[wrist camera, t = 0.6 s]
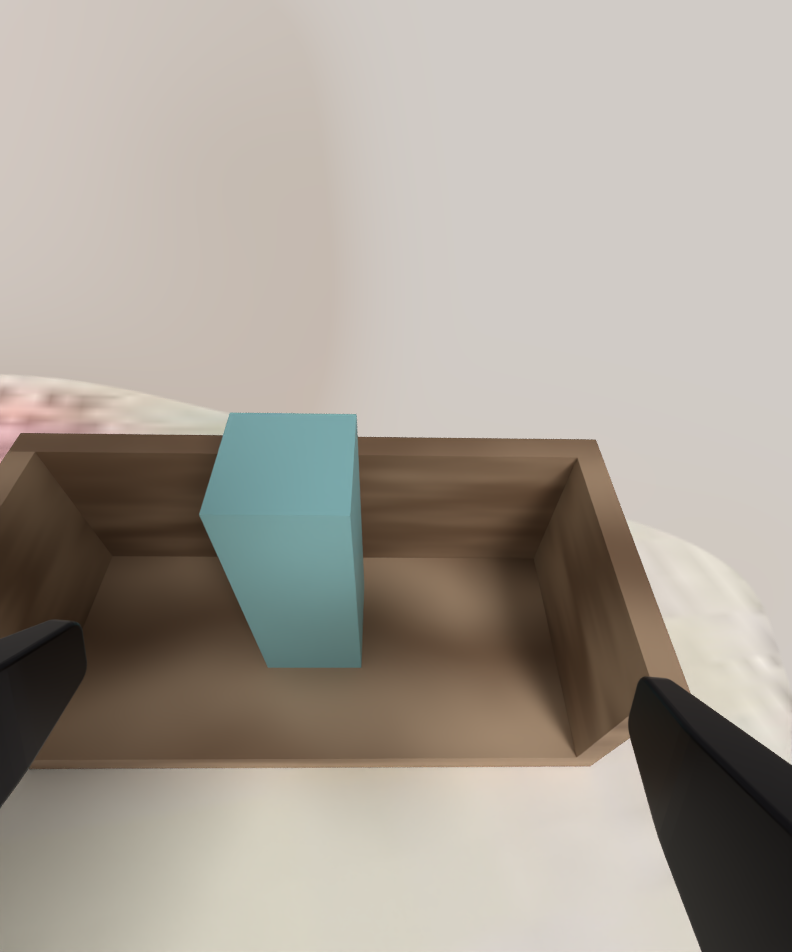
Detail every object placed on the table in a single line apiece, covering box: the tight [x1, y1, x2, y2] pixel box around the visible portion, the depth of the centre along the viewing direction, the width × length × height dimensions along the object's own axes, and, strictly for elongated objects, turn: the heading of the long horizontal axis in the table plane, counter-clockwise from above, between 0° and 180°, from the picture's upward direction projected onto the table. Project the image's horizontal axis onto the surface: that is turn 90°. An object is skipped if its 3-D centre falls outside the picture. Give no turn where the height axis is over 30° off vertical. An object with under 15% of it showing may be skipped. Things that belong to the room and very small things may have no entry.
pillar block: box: [199, 413, 364, 668], centre depth 19 cm, size 4×4×11 cm
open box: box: [0, 433, 691, 769], centre depth 21 cm, size 10×23×9 cm, turn 91°
